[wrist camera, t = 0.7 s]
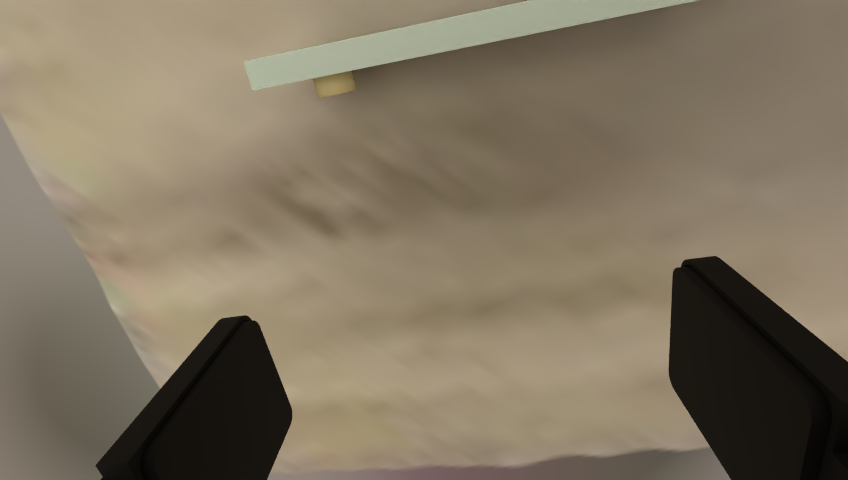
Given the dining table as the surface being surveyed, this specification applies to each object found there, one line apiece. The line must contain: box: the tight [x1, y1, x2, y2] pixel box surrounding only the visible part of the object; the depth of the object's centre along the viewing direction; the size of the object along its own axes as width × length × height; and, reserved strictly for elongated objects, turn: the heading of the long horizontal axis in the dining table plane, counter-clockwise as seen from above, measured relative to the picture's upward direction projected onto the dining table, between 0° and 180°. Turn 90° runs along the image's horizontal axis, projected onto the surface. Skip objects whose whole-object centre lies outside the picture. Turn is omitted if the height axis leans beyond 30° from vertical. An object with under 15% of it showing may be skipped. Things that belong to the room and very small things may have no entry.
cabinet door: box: [243, 0, 698, 98], centre depth 23 cm, size 2×22×11 cm, turn 101°
